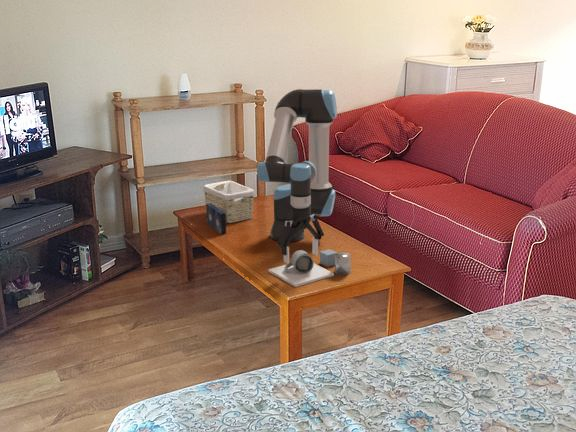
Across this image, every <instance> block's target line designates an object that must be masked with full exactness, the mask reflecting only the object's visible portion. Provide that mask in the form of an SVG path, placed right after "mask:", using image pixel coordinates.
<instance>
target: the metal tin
mask: <svg viewBox="0 0 576 432" xmlns="http://www.w3.org/2000/svg"><path fill="white" fill-rule="evenodd" d="M351 258H352V256H351V253H348V252H337V253H336V254H335V265H334V274H336V275H338V276H347V275H350V274H351V262H352V261H351Z"/></svg>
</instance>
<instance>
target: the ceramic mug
mask: <svg viewBox="0 0 576 432" xmlns="http://www.w3.org/2000/svg"><path fill="white" fill-rule="evenodd" d="M290 260H291V261H289V264H287V263H286V264H285V265H286V266H285V267H284V269H285V271H286V272H287V273H290V272H293V271H295V270H296V271H297V272H298V273H300V274H307V273H309V272H310V271H311V270H312V268H313V266H314V263H315V261H314V259H313V258H312V256H311V255H310V254H309V253H308V252H307V251H305V250H303V249H300V250H296V251H294V252H293V253H292V256H291V257H290ZM292 265H293V266H294V267H292V268H290V269H288V268H289V267H290V266H292Z"/></svg>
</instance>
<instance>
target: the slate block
mask: <svg viewBox="0 0 576 432" xmlns="http://www.w3.org/2000/svg"><path fill="white" fill-rule="evenodd" d="M336 253H338V251H335V250H332V249H330V248H329V249H325V250H321V251H319V264H320V265H323V266H325V267H326V268H328V267H333V266H335V254H336Z"/></svg>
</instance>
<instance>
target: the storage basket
mask: <svg viewBox="0 0 576 432" xmlns="http://www.w3.org/2000/svg"><path fill="white" fill-rule="evenodd" d="M202 189H203V192H204V202H205V205H206V204H207V203H211V204H213V205H214V206H216V207H217V208H219V209H220V210H221V211H223V212H224V213H226V224H232V223H237V222H242V221H247V220H249V219H250V220H251V219H252V218H253V212H254V211H253V210H254V197H255V190H254V189H252V188H251V187H249V186H245V185H243V184H240V183H238V182H235V181H233V180H231V179H230V180H225V181H217V182H214V183H212V182H211V183H207V184H204V185H203V188H202ZM217 189H220V190H219V191H218V190H217Z"/></svg>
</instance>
